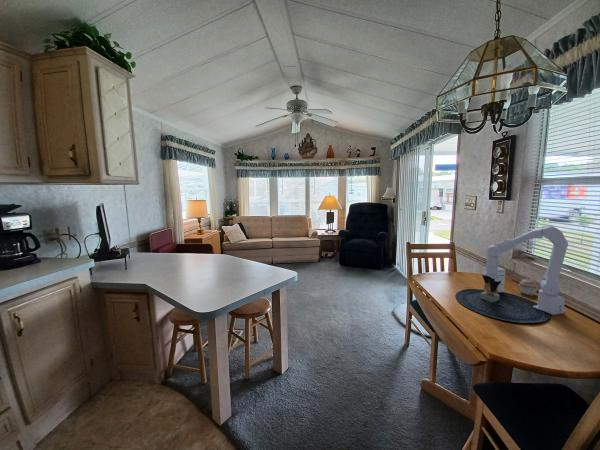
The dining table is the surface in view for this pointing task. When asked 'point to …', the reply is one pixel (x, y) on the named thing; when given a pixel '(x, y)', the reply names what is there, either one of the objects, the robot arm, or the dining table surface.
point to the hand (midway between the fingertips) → (490, 289)
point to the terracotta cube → (487, 289)
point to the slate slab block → (489, 297)
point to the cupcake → (528, 286)
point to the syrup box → (501, 279)
